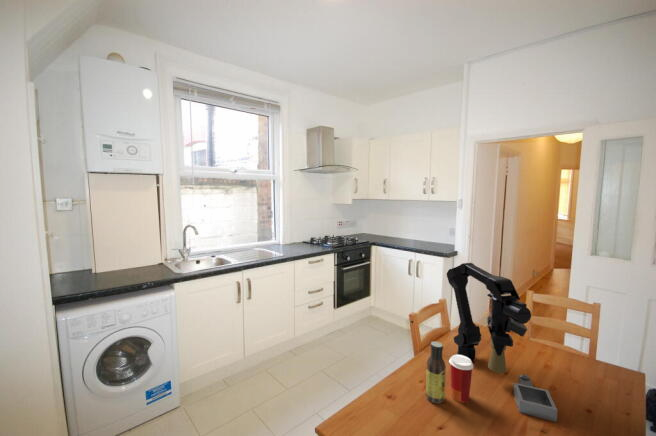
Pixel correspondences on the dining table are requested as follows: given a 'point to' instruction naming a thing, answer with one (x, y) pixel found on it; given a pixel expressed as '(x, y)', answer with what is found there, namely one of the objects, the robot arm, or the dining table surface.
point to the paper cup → (460, 377)
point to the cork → (497, 360)
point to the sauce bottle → (435, 374)
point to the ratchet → (534, 400)
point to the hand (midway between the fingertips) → (497, 351)
